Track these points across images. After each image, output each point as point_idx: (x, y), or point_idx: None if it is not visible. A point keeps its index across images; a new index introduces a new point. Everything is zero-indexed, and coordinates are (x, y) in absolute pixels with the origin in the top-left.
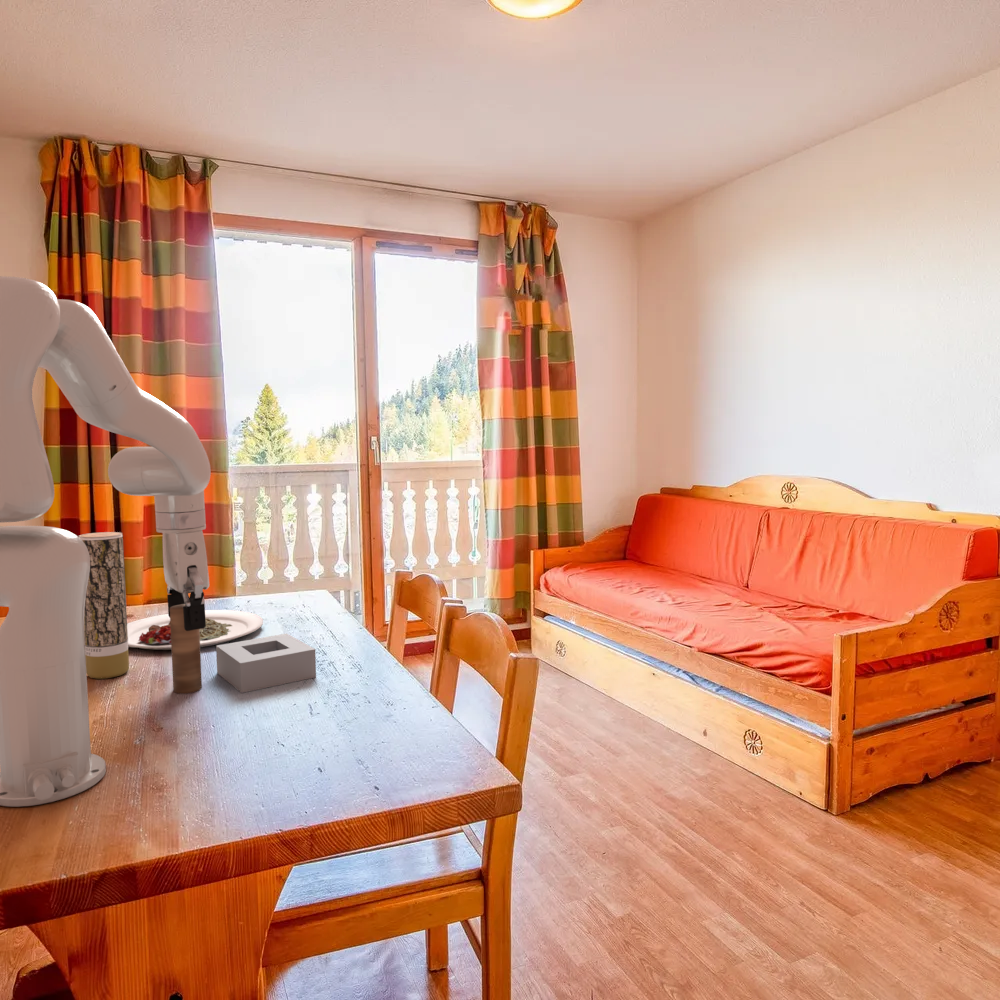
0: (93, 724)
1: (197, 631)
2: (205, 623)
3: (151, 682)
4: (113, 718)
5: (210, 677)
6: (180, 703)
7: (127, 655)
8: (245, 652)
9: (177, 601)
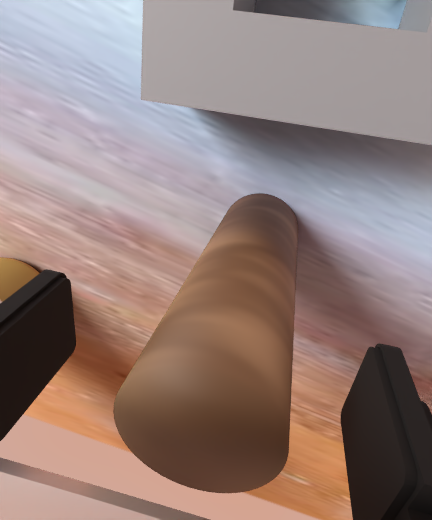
0: (319, 432)
1: (282, 306)
2: (405, 361)
3: (140, 262)
4: (318, 404)
5: (205, 133)
6: (353, 292)
7: (4, 286)
8: (348, 44)
9: (18, 378)
